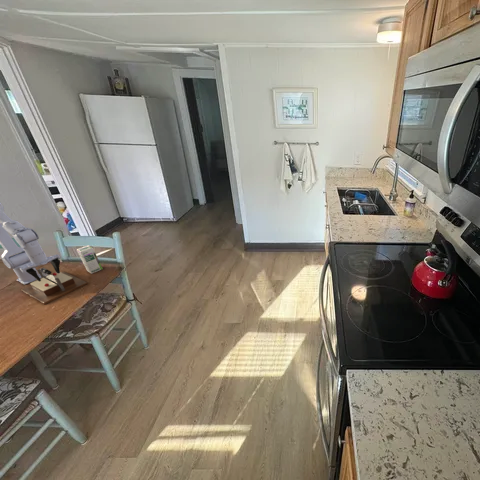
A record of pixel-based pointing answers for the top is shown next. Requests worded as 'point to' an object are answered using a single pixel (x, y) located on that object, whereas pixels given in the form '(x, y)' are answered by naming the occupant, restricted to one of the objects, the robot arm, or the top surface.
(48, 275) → the cleaver knife
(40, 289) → the cake
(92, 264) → the syrup box
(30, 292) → the cutting board
